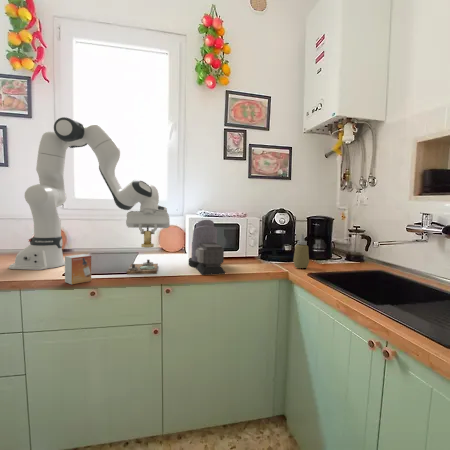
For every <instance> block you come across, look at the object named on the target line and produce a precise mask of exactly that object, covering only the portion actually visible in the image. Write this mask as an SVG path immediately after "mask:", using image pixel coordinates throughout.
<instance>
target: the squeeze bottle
mask: <svg viewBox="0 0 450 450" xmlns="http://www.w3.org/2000/svg"><path fill="white" fill-rule="evenodd" d="M307 242H308V241H307V240H305V235H304V234H303V233H302V234H301V235H300V238H299V240H297V244H296V245H295V247H294V253H293V265H294V268H295V267H297V268H296V269H298V268H306V269H308V266H309V264H310V254H309V246H308V245H307V244H308V243H307Z"/></svg>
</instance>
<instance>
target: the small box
mask: <svg viewBox="0 0 450 450" xmlns="http://www.w3.org/2000/svg"><path fill="white" fill-rule="evenodd" d="M64 261H65V265H64V282H65V283H67V284H69V285H75V284H81V283H88V282H91V281H92V255H91V254H86V253H81V254H73V255H65V256H64Z"/></svg>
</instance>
